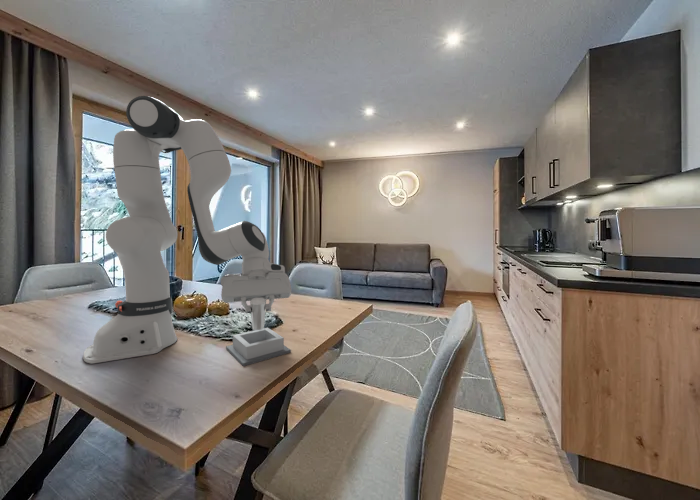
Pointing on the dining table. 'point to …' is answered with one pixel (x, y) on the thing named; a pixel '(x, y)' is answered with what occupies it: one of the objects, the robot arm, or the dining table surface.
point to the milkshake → (258, 313)
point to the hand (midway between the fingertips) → (258, 311)
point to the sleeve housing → (257, 346)
